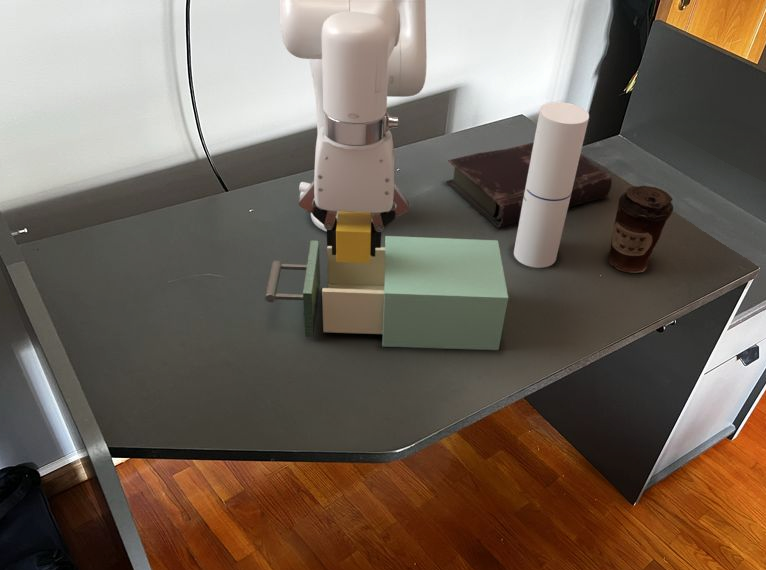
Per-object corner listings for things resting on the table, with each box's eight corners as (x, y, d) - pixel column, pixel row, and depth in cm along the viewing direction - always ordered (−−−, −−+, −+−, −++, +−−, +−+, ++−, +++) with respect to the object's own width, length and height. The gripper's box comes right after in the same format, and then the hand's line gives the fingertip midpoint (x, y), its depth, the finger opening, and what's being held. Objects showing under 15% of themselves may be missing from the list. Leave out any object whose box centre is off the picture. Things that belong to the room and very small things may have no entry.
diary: (608, 200, 138) (615, 176, 135) (500, 231, 128) (504, 206, 125) (547, 156, 150) (552, 133, 146) (443, 181, 140) (445, 157, 136)
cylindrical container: (529, 271, 120) (558, 127, 103) (505, 248, 124) (530, 106, 108) (564, 261, 123) (599, 119, 106) (540, 239, 127) (569, 99, 110)
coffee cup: (642, 285, 119) (665, 216, 110) (594, 267, 122) (613, 198, 113) (659, 260, 125) (682, 192, 116) (613, 243, 128) (632, 175, 119)
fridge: (382, 346, 104) (384, 293, 98) (383, 287, 114) (385, 235, 108) (498, 350, 105) (508, 297, 99) (489, 291, 115) (498, 240, 109)
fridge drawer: (265, 335, 103) (261, 291, 98) (276, 281, 112) (272, 238, 107) (415, 340, 104) (419, 296, 99) (413, 286, 114) (417, 244, 108)
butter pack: (336, 262, 99) (336, 230, 96) (338, 239, 103) (338, 208, 100) (370, 263, 99) (370, 232, 96) (370, 240, 103) (371, 209, 100)
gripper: (423, 114, 92) (415, 237, 104) (287, 107, 91) (294, 232, 103) (425, 142, 87) (416, 268, 99) (280, 135, 86) (289, 263, 98)
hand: (354, 249), depth 101 cm, fingers closed on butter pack, 4 cm apart
